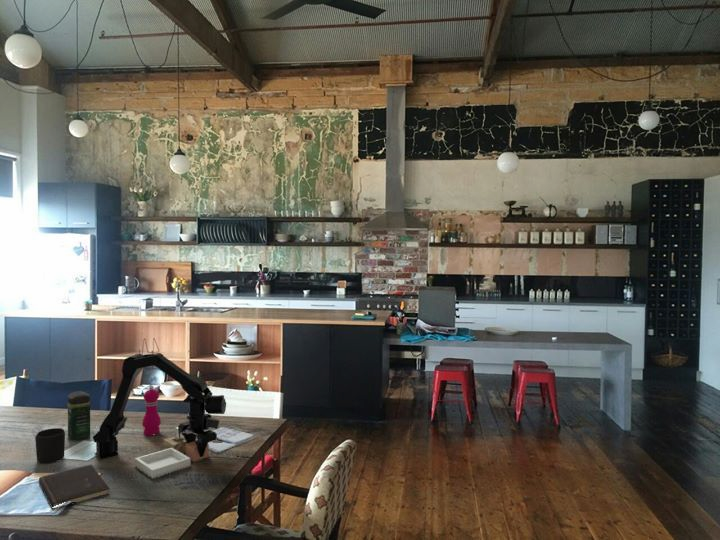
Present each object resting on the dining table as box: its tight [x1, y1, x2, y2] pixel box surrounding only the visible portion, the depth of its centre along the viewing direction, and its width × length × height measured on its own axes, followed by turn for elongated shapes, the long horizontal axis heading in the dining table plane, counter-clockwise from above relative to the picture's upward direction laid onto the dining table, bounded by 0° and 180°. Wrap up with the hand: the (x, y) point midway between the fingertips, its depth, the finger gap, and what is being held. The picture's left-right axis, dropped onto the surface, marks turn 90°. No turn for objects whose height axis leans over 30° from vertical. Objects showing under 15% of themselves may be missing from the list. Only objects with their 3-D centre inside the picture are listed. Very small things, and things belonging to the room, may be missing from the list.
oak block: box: [163, 435, 187, 454], centre depth 201 cm, size 8×8×4 cm
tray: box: [134, 448, 192, 480], centre depth 186 cm, size 14×14×3 cm
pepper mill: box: [141, 385, 162, 436], centre depth 218 cm, size 7×7×20 cm
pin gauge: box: [174, 426, 183, 442], centre depth 200 cm, size 2×2×8 cm
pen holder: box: [34, 427, 66, 465], centre depth 191 cm, size 9×9×10 cm
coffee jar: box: [67, 390, 91, 441], centre depth 212 cm, size 10×8×19 cm
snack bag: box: [208, 426, 255, 454], centre depth 211 cm, size 19×20×2 cm
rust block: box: [185, 441, 210, 462], centre depth 194 cm, size 6×6×5 cm
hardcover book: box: [38, 464, 111, 508], centre depth 169 cm, size 16×23×2 cm
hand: (197, 454), depth 194 cm, fingers closed on rust block, 6 cm apart
